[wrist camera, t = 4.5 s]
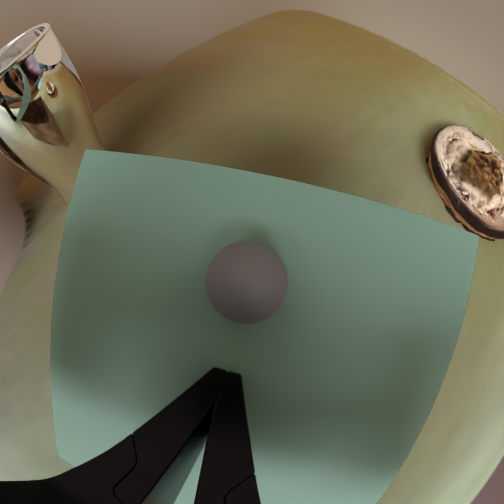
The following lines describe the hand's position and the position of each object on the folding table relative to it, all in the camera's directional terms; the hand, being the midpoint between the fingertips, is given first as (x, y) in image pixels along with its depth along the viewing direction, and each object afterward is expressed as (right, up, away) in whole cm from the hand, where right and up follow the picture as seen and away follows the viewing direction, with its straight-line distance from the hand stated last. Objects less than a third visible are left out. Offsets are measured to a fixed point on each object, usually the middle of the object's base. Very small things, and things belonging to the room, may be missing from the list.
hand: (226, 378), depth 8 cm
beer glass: (-13, +9, +15) cm, 21 cm away
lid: (0, -1, +1) cm, 1 cm away
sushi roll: (+23, +10, +15) cm, 29 cm away
